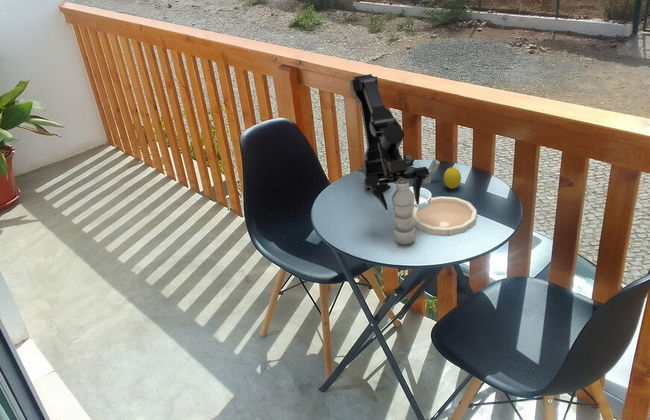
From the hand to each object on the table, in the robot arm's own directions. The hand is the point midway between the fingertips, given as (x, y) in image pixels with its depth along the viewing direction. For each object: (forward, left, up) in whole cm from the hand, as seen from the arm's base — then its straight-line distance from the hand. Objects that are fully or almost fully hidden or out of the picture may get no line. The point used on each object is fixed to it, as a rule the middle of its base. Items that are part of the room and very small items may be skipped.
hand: (402, 207), depth 170 cm
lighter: (-16, +31, -11) cm, 37 cm away
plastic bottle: (+1, -1, -11) cm, 11 cm away
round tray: (+2, +16, -11) cm, 20 cm away
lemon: (-7, +32, -11) cm, 35 cm away
